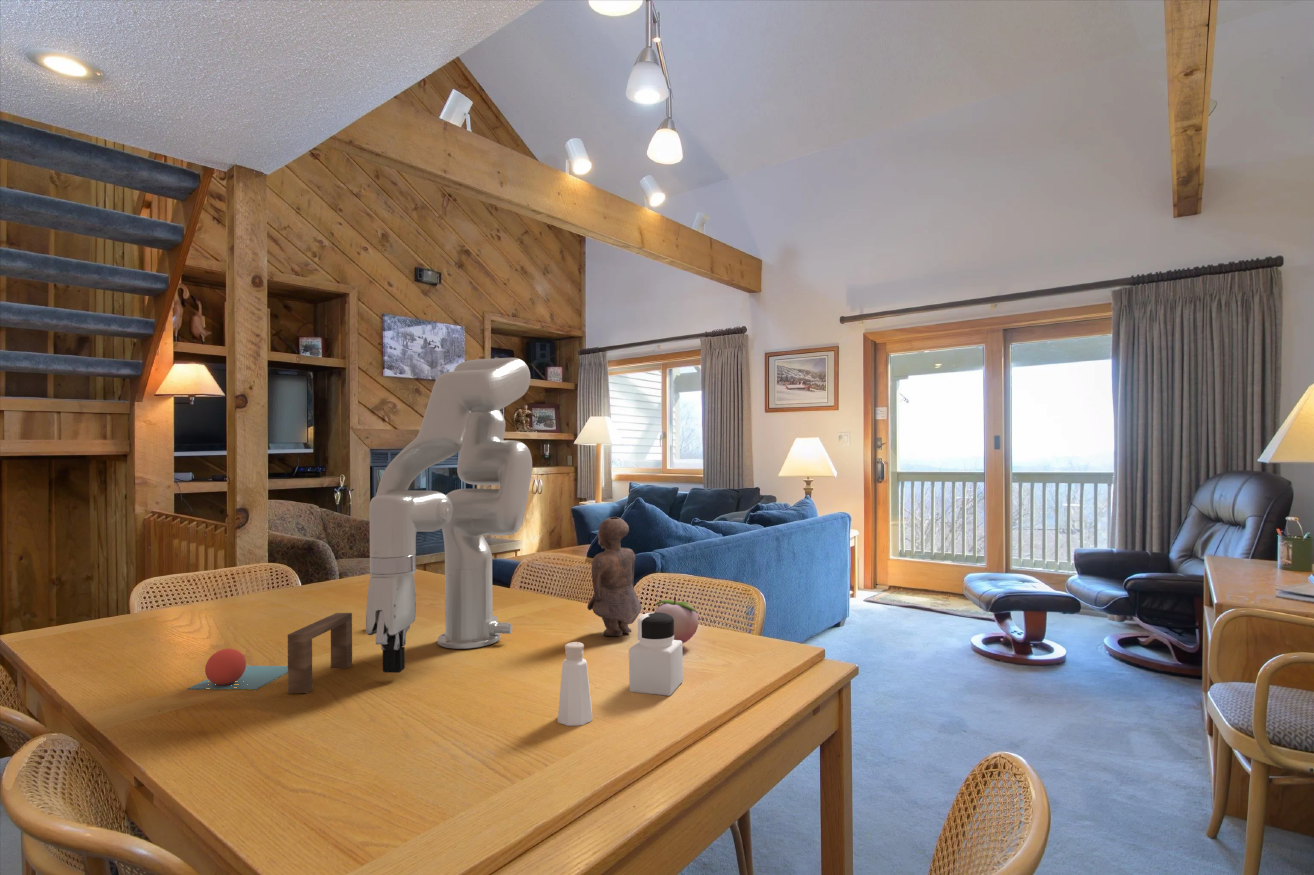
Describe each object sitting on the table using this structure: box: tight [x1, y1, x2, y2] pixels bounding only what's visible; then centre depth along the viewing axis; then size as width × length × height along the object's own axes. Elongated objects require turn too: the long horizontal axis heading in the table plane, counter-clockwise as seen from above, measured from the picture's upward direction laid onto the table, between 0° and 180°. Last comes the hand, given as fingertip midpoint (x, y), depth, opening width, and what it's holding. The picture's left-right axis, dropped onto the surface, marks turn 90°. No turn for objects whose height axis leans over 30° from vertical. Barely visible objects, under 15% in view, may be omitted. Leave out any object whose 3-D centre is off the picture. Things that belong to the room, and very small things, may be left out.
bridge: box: [287, 612, 353, 694], centre depth 121 cm, size 3×15×10 cm, turn 176°
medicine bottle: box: [628, 611, 684, 697], centre depth 115 cm, size 7×7×12 cm
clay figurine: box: [587, 516, 642, 637], centre depth 148 cm, size 13×10×25 cm
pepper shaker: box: [557, 641, 593, 727], centre depth 102 cm, size 5×5×11 cm
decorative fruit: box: [654, 596, 699, 645], centre depth 138 cm, size 9×8×10 cm
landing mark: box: [187, 665, 288, 691], centre depth 122 cm, size 12×12×1 cm
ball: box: [204, 648, 247, 685], centre depth 119 cm, size 6×6×6 cm
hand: (393, 670), depth 120 cm, fingers closed
